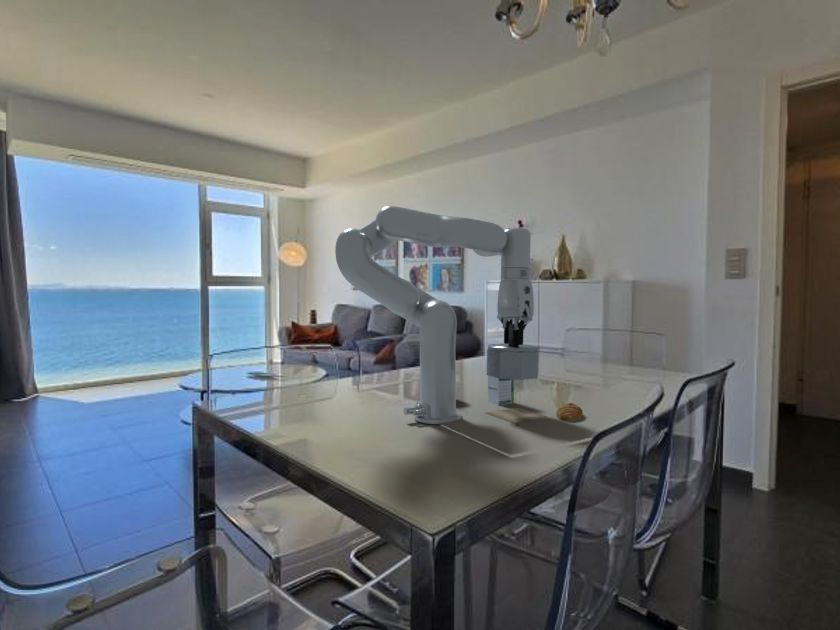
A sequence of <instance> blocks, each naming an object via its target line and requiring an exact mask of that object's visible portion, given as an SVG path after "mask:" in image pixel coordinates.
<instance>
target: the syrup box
mask: <svg viewBox="0 0 840 630" xmlns="http://www.w3.org/2000/svg"><path fill="white" fill-rule="evenodd" d="M514 381H515V379H499V378H495V377H492V376H488V375H487V402H488V403H491V404H494V405H497V406H503V405H510V404H514V403H515V400H514V399H515V397H514V396H515V395H514V394H515V393H514V388H515V387H514V385H515V384H514Z"/></svg>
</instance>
